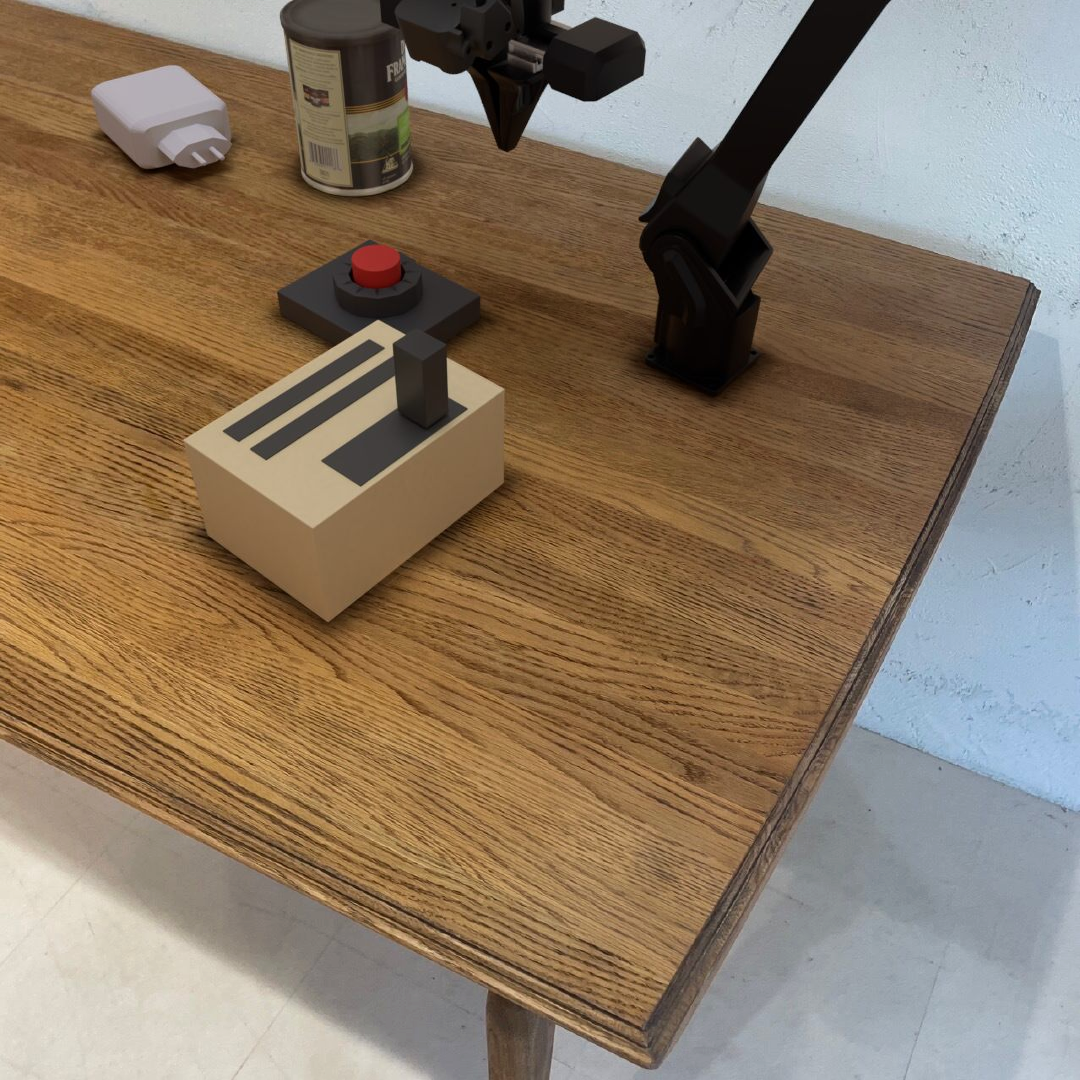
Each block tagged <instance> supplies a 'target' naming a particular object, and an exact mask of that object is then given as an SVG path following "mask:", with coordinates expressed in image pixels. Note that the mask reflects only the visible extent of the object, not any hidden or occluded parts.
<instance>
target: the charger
mask: <svg viewBox="0 0 1080 1080" xmlns="http://www.w3.org/2000/svg"><path fill="white" fill-rule="evenodd" d="M90 97H91V100H92V104H93V110H94V112H95V116H96V117H95V118H96V120H97V125H98V127H99V129H100V130H101V131H102V132H103V133H104V134H105V135H106V136H107V137H108V138H109V139H110V140H111V141H112V142H114V143H115V145H117V146H118V147H119V148H120V149H121V150H122V151H123V153H125V154H126V155H127V156H128V157H129V158H130V159H131V160H132V161H133V162H134V163H135V164H136V165H138V167H140V168H142V169H145V170H150V169H151V170H152V169H153V170H154V169H157V168H162V167H166V166H169V165H174V164H176V165H177V166H179V167H185V168H189V169H190V168H191V169H196V168H199V167H205V166H207V165H209V164H213V163H216V162H218V161H224V160H225V159H226V157H225V155H226V154H227V153H228V152H229V151H230V149H231V147H232V146H233V143H232V142H231V141H232V130H231V125H230V119H229V113H228V109H227V108H228V107H227V104H226V102H225V101H223V100H222V98H220V97H219V96H217V95H216V94H215V93H214V92H212V91H211V90H210V89H209V88H208V87H206V86H205V85H204V84H203V83H201V82H200V81H199V80H198V79H196V78H195V77H194V76H193V75H192V74H190V73H189V71H187V70H186V69H184V68H183V67H181V66H180V65H176V64H175V65H173V64H171V65H170V64H169V65H164V66H160V67H157V68H152V69H149V70H145V71H141V72H137V73H133V74H129V75H126V76H122V77H117V78H114V79H109V80H106V81H103V82H100V83H99V84H97V85H95V86H94V87H93V88H92V90H91V91H90Z"/></svg>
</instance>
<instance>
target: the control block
mask: <svg viewBox="0 0 1080 1080" xmlns="http://www.w3.org/2000/svg"><path fill="white" fill-rule="evenodd" d="M369 245H381V244H380V243H378V242H377V241H374V240H373V239H367V240H366V241H363V242H362V243H360V244H358V245H357V246H355V247H353V248H352V249H350V250H348V251H346V252H344V253H342V254H341V255H339V256H337V257H335V258H334V259H332V260H330V261H328V262H327V263H325V264H323V265H321V266H320V267H317V268H315V269H313V270H312V271H310V272H308V273H307V274H305V275H303V276H301V277H300V278H297V279H295V280H294V281H292V282H291V283H289V284H287V285H285V286H284V287H281V288H280V289H278V290H277V291H276V294H277V301H278V307H279V314H280V315H281V316H282V317H284V318H285V319H287V320H289V321H291V322H293V323H294V324H296V325H298V326H300V327H301V328H303V329H305V330H306V331H308V332H310V333H312V334H313V335H315V336H316V337H319V338H320V339H322V340H323V341H326V342H327V343H329V344H330V345H333V347H335V346H336V345H338V344H340V343H341V342H343V341H344V340H346V339H348V338H349V337H351V336H353V335H354V334H356V333H357V332H359V331H361V330H362V329H364V328H366V327H367V326H369V325H370V324H372V323H374V322H375V321H377V320H380V321H381V322H383V323H385V324H387V325H389V326H391V327H392V328H394V329H396V330H398V331H400V332H401V333H403V334H405V335H406V334H408V333H410V332H411V331H413V330H414V329H419V330H420V331H422V332H424V333H426V334H428V335H430V336H431V337H433V338H435V339H437V340H439V341H441V342H443V343H444V344H446V343H447V342H448V341H449V340H451V339H452V338H454V337H456V336H457V335H458V334H460V333H461V332H463V331H464V330H466V329H467V328H469V327H470V326H472V325H473V324H475V323H477V322H478V321H479V320H481V318H482V317H481V312H482V311H481V310H482V309H481V307H482V306H481V295H480V294H479V293H477V292H475V291H472V290H470V289H469V288H466V287H465V286H463V285H461V284H459V283H457V282H456V281H453V280H452V279H449V278H447V277H446V276H443V275H441V274H440V273H437V272H435V271H434V270H431V269H429V268H428V267H426V266H424V265H421V264H419V263H417V260H416V259H414V258H412V257H411V256H409V255H407V254H405V253H403V252H401V251H398V250H396V251H397V252H398V253H399V255H400V263H401V280H400V281H399V282H398V283H397V284H395V285H393V286H392V287H387V288H381V289H372V288H364V287H361V286H359V285H357V284H356V283H355V281H354V278H353V269H352V255H353V254H354V252H355V251H357V250H358V249H360V248H362V247H365V246H369Z"/></svg>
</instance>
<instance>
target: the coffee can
mask: <svg viewBox="0 0 1080 1080" xmlns="http://www.w3.org/2000/svg"><path fill="white" fill-rule="evenodd" d="M279 20H280V25H281V28H282V29H283V37H284V45H285V46H284V47H285V53H286V59H287V68H288V75H289V83H290V84H289V85H290V92H291V98H292V107H293V112H294V121H295V128H296V135H297V144H298V149H299V150H298V151H299V159H300V173H301V176H302V178H303V180H304V181H305V183H307V184H308V185H309V186H310V187H312V188H313V189H316V190H318V191H320V192H323V193H325V194H329V195H334V196H340V197H366V196H367V197H368V196H375V195H379V194H380V195H381V194H383V193H385V192H389V191H392V190H394V189H396V188H398V187H399V186H401V185H403V184H405V182H407V181H408V180H409V178H410V177H411V175H412V174H413V171H414V164H413V160H412V159H413V158H412V142H411V126H410V125H411V123H410V108H409V88H408V72H407V69H408V68H407V56H406V52H407V51H406V44H405V41H404V39H403V36H402V33H401V30H400V29H397V28H395V27H392V26H390V25H387V24H385V23H382V22H381V11H380V0H289V1H288V2H287V3H285V5H284V6H283V7H282V8H281V10H280V11H279Z"/></svg>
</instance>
